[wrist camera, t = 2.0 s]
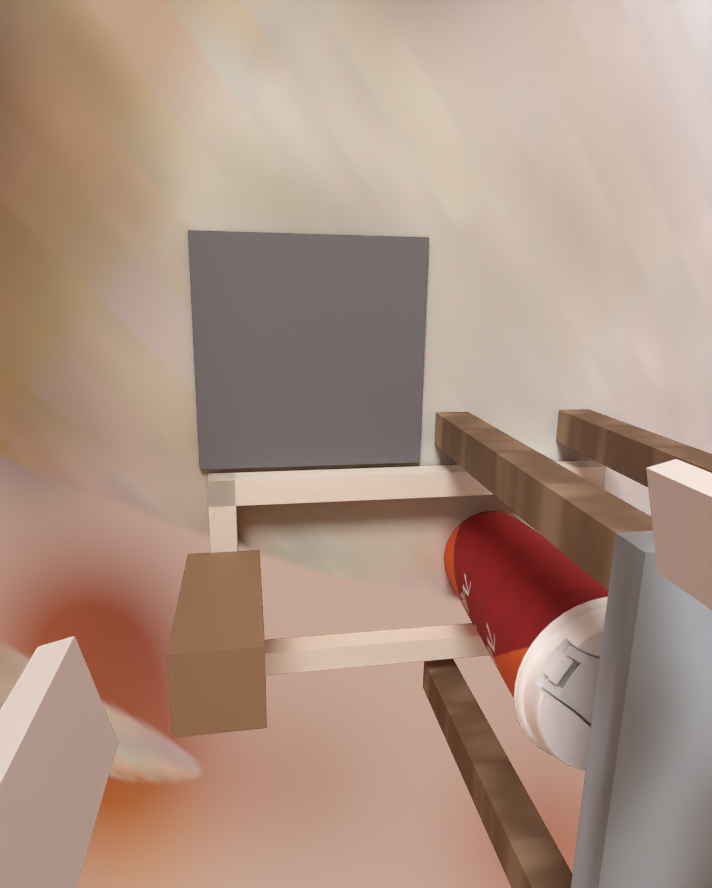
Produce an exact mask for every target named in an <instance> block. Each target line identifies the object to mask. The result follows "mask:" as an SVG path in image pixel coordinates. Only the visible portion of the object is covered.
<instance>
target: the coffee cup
mask: <svg viewBox="0 0 712 888" xmlns="http://www.w3.org/2000/svg"><path fill="white" fill-rule="evenodd" d="M444 563H445V568H446V572H447V575H448V577H449V579H450V582H451V584H452V586H453V588H454V590H455V592H456V593H457V595H458V597H459V599H460V601H461V603H462V605H463V606H464V608H465V610H466V612H467V614H468V616H469V618H470V619H471V621H472V623H473V625H474V627H475V629H476V630H477V632H478V634H479V636H480V638H481V640H482V641H483V643H484V645H485V647H486V649H487V650H488V652H489V654H490V656H491V657H492V659H493V661H494V663H495V665H496V667H497V668H498V670H499V672H500V673H501V676H502V677H503V679H504V681H505V683H506V685H507V686H508V688H509V690H510V692H511V694H512V696H513V697H514V704H515V711H516V714H517V718H518V721H519V723H520V725H521V727H522V729H523V731H524V732H525V734H526V735H527V736H528V737H529V739H530V740H531V741H532V742H533V743H534V744H536V745H537V746H538V747H539V748H540V749H542V750H544V751H545V752H547V753H549V754H551V755H553V756H555V757H556V758H558V759H559V760H560V761H562V762H564V763H566V764H567V765H569V766H572V767H574V768H577V769H580V770H584V771H586V764H587V756H588V748H589V740H590V733H591V725H592V717H593V709H594V701H595V693H596V685H597V677H598V669H599V662H600V654H601V646H602V638H603V630H604V622H605V614H606V606H607V598H608V591H607V590H606V589H605V588H604V587H603V586H601V585H600V584H599V583H598V582H597V581H595V580H594V579H593V578H592V577H591V576H589V575H588V574H587V573H586V572H585V571H584V570H582V569H581V568H580V567H579V566H578V565H576V564H575V563H574V562H573V561H572V560H571V559H569V558H568V557H567V556H566V555H565V554H563V553H562V552H561V551H560V550H559V549H558V548H556V547H555V546H554V545H553V544H552V543H550V542H549V541H548V540H547V539H546V538H544V537H543V536H542V535H541V534H539V533H538V532H536V531H535V530H533V529H532V528H530V527H529V526H527V525H526V524H524V523H523V522H521V521H520V520H518V519H516V518H514V517H513V516H511V515H508V514H505V513H502V512H494V511H493V512H483V513H479V514H476V515H474V516H472V517H470V518H468V519H467V520H465V521H464V522H462V523H461V524H460V525H459V526H458V527H457V528H456V529H455V530H454V532H453V533H452V535H451V536H450V538H449V540H448V542H447V545H446V548H445V554H444Z"/></svg>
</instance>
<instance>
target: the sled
mask: <svg viewBox="0 0 712 888" xmlns="http://www.w3.org/2000/svg"><path fill="white" fill-rule="evenodd" d="M556 463H558V464H560V465H561V466H563V467H565V468H567V469H568V470H570V471H572V472H574V473H575V474H577V475H579V476H581V477H582V478H584V479H586V480H588V481H589V482H591V483H593V484H595V485H596V486H598V487H600V488H602V489H603V488H604V480H605V471H606V466H604V465H602V464H600V463H598V462H596V461H594V460H584V461H556ZM207 486H208V507H209V529H210V551H211V553H198V554H188V556H187V561H186V566H185V570H184V575H183V580H182V584H181V590H180V594H179V599H178V603H177V608H176V613H175V618H174V622H173V627H172V632H171V636H170V641H169V646H168V650H167V669H168V682H169V698H170V713H171V726H172V738H174V737H183V736H194V735H203V734H213V733H222V732H232V731H241V730H250V729H261V728H267V722H266V678H265V675H275V674H286V673H297V672H308V671H319V670H330V669H341V668H353V667H364V666H374V665H386V664H397V663H408V662H419V661H431V660H442V659H453V658H464V657H474V656H486V655H490V654H489V652H488V650H487V649H486V647H485V645H484V643H483V641H482V640H481V638H480V636H479V634H478V632H477V630H476V629H475V627H474V625H473V623H469V624H457V625H445V626H432V627H419V628H407V629H394V630H382V631H370V632H358V633H345V634H333V635H320V636H307V637H295V638H282V639H270V640H264V624H263V605H262V587H261V569H260V550H251V551H238V534H237V506H246V505H269V504H292V503H315V502H337V501H360V500H383V499H406V498H429V497H452V496H474V495H494V494H492V493H491V492H490V491H489V490H488V489H486V488H485V487H484V486H483V485H482V484H481V483H479V482H478V481H477V480H476V479H475V478H473V477H472V476H471V475H470V474H469V473H468V472H466V471H465V470H464V469H463V468H462V467H460V466H459V465H441V466H412V467H383V468H355V469H326V470H297V471H269V472H240V473H211V474H209V475H208V480H207Z"/></svg>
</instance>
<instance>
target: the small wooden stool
mask: <svg viewBox="0 0 712 888" xmlns="http://www.w3.org/2000/svg"><path fill="white" fill-rule="evenodd" d="M556 441H557V442H559V443H561V444H563V445H565V446H567V447H569V448H571V449H573V450H575V451H577V452H579V453H581V454H583V455H585V456H587V457H589V458H591V459H593V460H595V461H597V462H599V463H601V464H603V465H605V466H607V467H609V468H611V469H613V470H615V471H617V472H619V473H621V474H623V475H625V476H627V477H629V478H631V479H633V480H635V481H637V482H638V483H640V484H642V485H644V486H646V487H648V480H647V471H646V468H647V467H650V466H654V465H657V464H661V463H664V462H667V461H671V460H674V459H678V460H680V461H683V462H685V463H688V464H690V465H693V466H695V467H698V468H700V469H703V470H706V471H708V472H711V473H712V454H710V453H707V452H704V451H701V450H699V449H696V448H693V447H690V446H688V445H685V444H682V443H679V442H677V441H674V440H671V439H668V438H666V437H663V436H660V435H657V434H655V433H652V432H649V431H646V430H644V429H641V428H638V427H635V426H633V425H630V424H627V423H624V422H622V421H619V420H616V419H613V418H611V417H608V416H605V415H602V414H600V413H597V412H594V411H591V410H559V419H558V429H557V439H556ZM435 445H436V446H437V447H438V448H439V449H440V450H441V451H443V452H444V453H445V454H446V455H447V456H449V457H450V458H451V459H452V460H453V461H454V462H456V463H457V464H458V465H459V466H460V467H462V468H463V469H464V470H465V471H466V472H468V473H469V474H470V475H471V476H472V477H473V478H475V479H476V480H477V481H478V482H479V483H481V484H482V485H483V486H484V487H485V488H486V489H488V490H489V491H490V492H491V493H492V494H494V495H495V496H496V497H497V498H498V499H499V500H501V501H502V502H503V503H504V504H505V505H507V506H508V507H509V508H510V509H511V510H513V511H514V512H515V513H516V514H517V515H518V516H520V517H521V518H522V519H523V520H524V521H526V522H527V523H528V524H529V525H530V526H531V527H533V528H534V529H535V530H536V531H537V532H539V533H540V534H541V535H542V536H543V537H544V538H546V539H547V540H548V541H549V542H550V543H552V544H553V545H554V546H555V547H556V548H558V549H559V550H560V551H561V552H562V553H563V554H565V555H566V556H567V557H568V558H569V559H571V560H572V561H573V562H574V563H575V564H576V565H578V566H579V567H580V568H581V569H582V570H584V571H585V572H586V573H587V574H588V575H589V576H591V577H592V578H593V579H594V580H595V581H597V582H598V583H599V584H600V585H601V586H603V587H604V588H605V589H606V590H607V591H608V598H607V606H606V614H605V622H604V630H603V638H602V646H601V654H600V662H599V669H598V677H597V685H596V693H595V701H594V709H593V717H592V725H591V733H590V740H589V748H588V756H587V764H586V772H585V780H584V788H583V797H582V804H581V812H580V820H579V828H578V835H577V844H576V851H575V860H574V867H573V874H572V872H571V871H570V869H569V867H568V865H567V864H566V862H565V860H564V858H563V856H562V854H561V853H560V851H559V849H558V847H557V845H556V844H555V842H554V840H553V838H552V836H551V835H550V833H549V831H548V829H547V828H546V826H545V824H544V822H543V820H542V819H541V817H540V815H539V813H538V811H537V809H536V808H535V806H534V804H533V802H532V800H531V799H530V797H529V795H528V793H527V791H526V790H525V788H524V786H523V784H522V782H521V781H520V779H519V777H518V775H517V773H516V772H515V770H514V768H513V766H512V764H511V763H510V761H509V759H508V757H507V755H506V754H505V752H504V750H503V748H502V746H501V745H500V743H499V741H498V739H497V738H496V736H495V734H494V732H493V730H492V728H491V727H490V725H489V723H488V721H487V719H486V718H485V716H484V714H483V712H482V710H481V709H480V707H479V705H478V703H477V701H476V700H475V698H474V696H473V694H472V692H471V691H470V689H469V687H468V686H467V684H466V682H465V680H464V678H463V676H462V674H461V673H460V671H459V669H458V667H457V665H456V664H455V662H454V660H453V659H443V660H432V661H424V676H423V677H424V678H423V688H424V690H425V693H426V695H427V697H428V699H429V702H430V704H431V706H432V709H433V711H434V713H435V715H436V718H437V720H438V722H439V724H440V727H441V729H442V731H443V734H444V736H445V738H446V740H447V743H448V745H449V747H450V749H451V752H452V754H453V756H454V759H455V761H456V763H457V765H458V768H459V770H460V772H461V774H462V777H463V779H464V781H465V783H466V785H467V788H468V790H469V792H470V795H471V797H472V799H473V801H474V804H475V806H476V808H477V811H478V813H479V815H480V817H481V820H482V822H483V824H484V826H485V829H486V831H487V833H488V835H489V838H490V840H491V842H492V844H493V847H494V849H495V851H496V853H497V856H498V858H499V860H500V862H501V865H502V867H503V869H504V872H505V874H506V876H507V878H508V880H509V883H510V885H511V888H712V610H711V609H709V608H708V607H707V606H705V605H704V604H702V603H701V602H699V601H698V600H696V599H695V598H694V597H692V596H691V595H689V594H688V593H686V592H685V591H683V590H682V589H681V588H679V587H678V586H676V585H675V584H673V583H672V582H670V581H669V580H668V579H666V578H665V577H663V576H662V575H660V574H659V573H658V571H657V562H656V553H655V544H654V535H653V526H652V517H651V516H649V515H647V514H645V513H644V512H642V511H640V510H638V509H637V508H635V507H633V506H631V505H630V504H628V503H626V502H624V501H623V500H621V499H619V498H617V497H616V496H614V495H612V494H610V493H609V492H607V491H605V490H603V489H602V488H600V487H598V486H596V485H595V484H593V483H591V482H589V481H588V480H586V479H584V478H582V477H581V476H579V475H577V474H575V473H574V472H572V471H570V470H568V469H567V468H565V467H563V466H561V465H560V464H558V463H556V462H554V461H553V460H551V459H549V458H547V457H546V456H544V455H542V454H540V453H539V452H537V451H535V450H533V449H532V448H530V447H528V446H526V445H525V444H523V443H521V442H519V441H518V440H516V439H514V438H512V437H511V436H509V435H507V434H505V433H504V432H502V431H500V430H498V429H497V428H495V427H493V426H491V425H490V424H488V423H486V422H484V421H483V420H481V419H479V418H477V417H476V416H474V415H472V414H470V413H469V412H441V413H436V426H435Z"/></svg>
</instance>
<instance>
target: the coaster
mask: <svg viewBox="0 0 712 888" xmlns="http://www.w3.org/2000/svg"><path fill="white" fill-rule="evenodd" d="M188 242H189V262H190V282H191V303H192V323H193V344H194V364H195V384H196V405H197V425H198V446H199V466H200V470H206V469H236V468H265V467H295V466H325V465H354V464H384V463H414V462H419V460H420V436H421V413H422V389H423V365H424V341H425V317H426V293H427V270H428V246H429V238H425V237H392V236H358V235H325V234H291V233H257V232H224V231H190V230H188Z"/></svg>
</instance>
